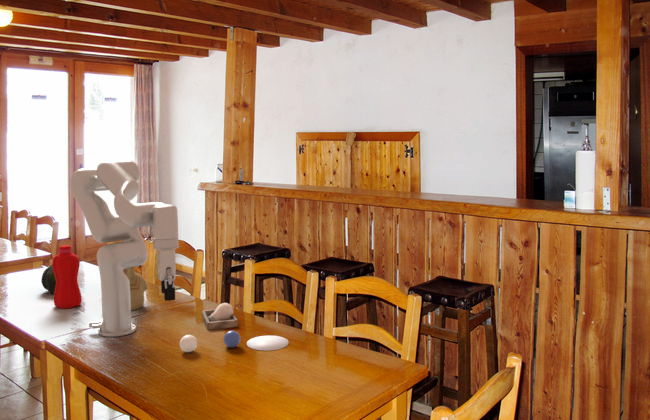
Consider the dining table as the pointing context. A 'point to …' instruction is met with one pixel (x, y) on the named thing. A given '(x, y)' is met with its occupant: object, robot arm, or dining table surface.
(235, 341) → the object ball
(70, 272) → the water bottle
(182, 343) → the cue ball
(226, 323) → the brown wooden tray
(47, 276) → the squash
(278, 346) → the white round disc
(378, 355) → the dining table surface
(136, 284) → the ceramic vessel
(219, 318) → the light bulb
